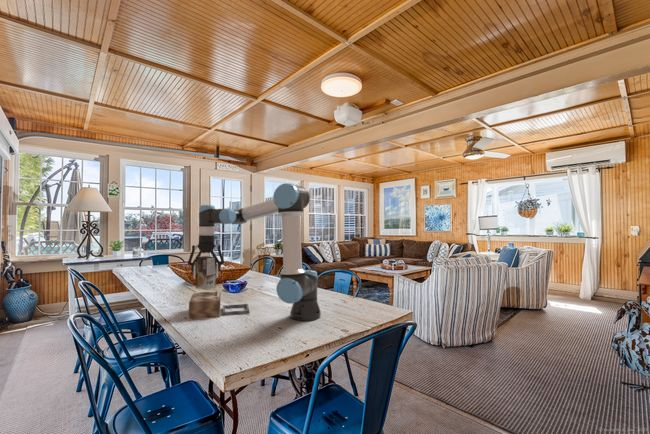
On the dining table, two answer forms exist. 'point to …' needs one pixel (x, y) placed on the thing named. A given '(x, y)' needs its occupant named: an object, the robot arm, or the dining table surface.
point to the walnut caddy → (210, 305)
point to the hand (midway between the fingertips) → (206, 277)
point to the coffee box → (206, 272)
